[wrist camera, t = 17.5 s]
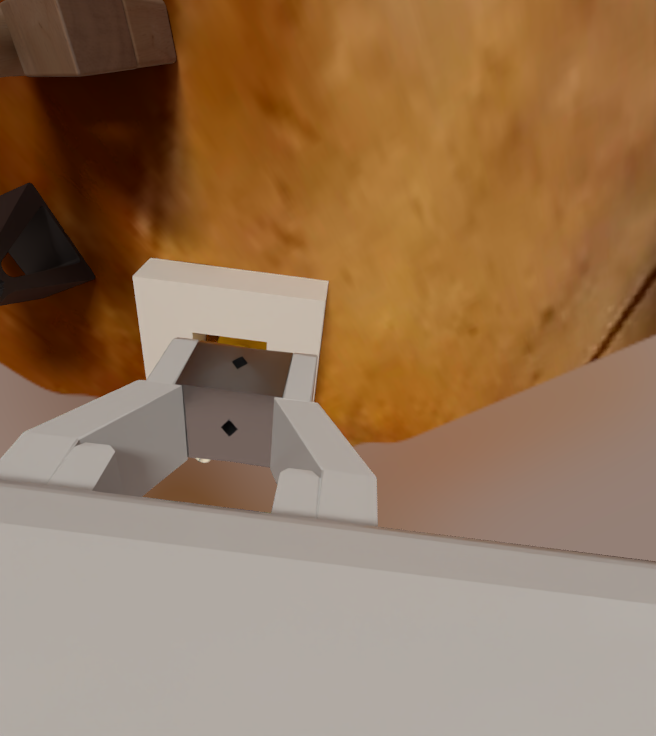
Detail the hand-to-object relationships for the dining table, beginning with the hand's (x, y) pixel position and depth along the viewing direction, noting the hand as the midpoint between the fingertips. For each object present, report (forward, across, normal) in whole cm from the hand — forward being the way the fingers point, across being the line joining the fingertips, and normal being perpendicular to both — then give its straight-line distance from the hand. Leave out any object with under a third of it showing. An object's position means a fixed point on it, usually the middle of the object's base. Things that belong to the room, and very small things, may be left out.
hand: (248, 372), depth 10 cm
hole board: (+31, +7, +20) cm, 38 cm away
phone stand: (+31, +25, +12) cm, 42 cm away
